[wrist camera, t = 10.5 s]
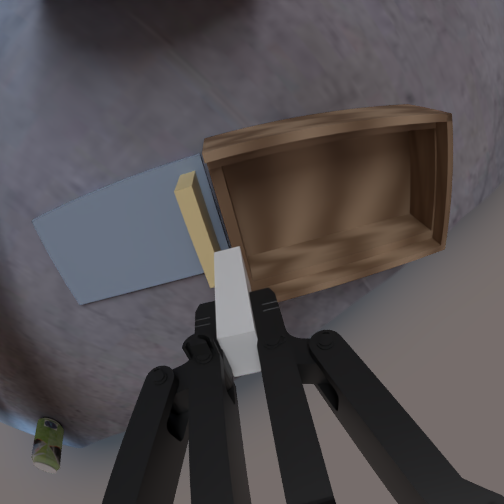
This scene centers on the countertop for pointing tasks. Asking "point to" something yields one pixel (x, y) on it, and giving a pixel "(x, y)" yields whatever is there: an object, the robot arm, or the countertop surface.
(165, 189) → the lid
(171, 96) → the countertop surface
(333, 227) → the box
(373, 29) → the countertop surface
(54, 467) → the beverage can
